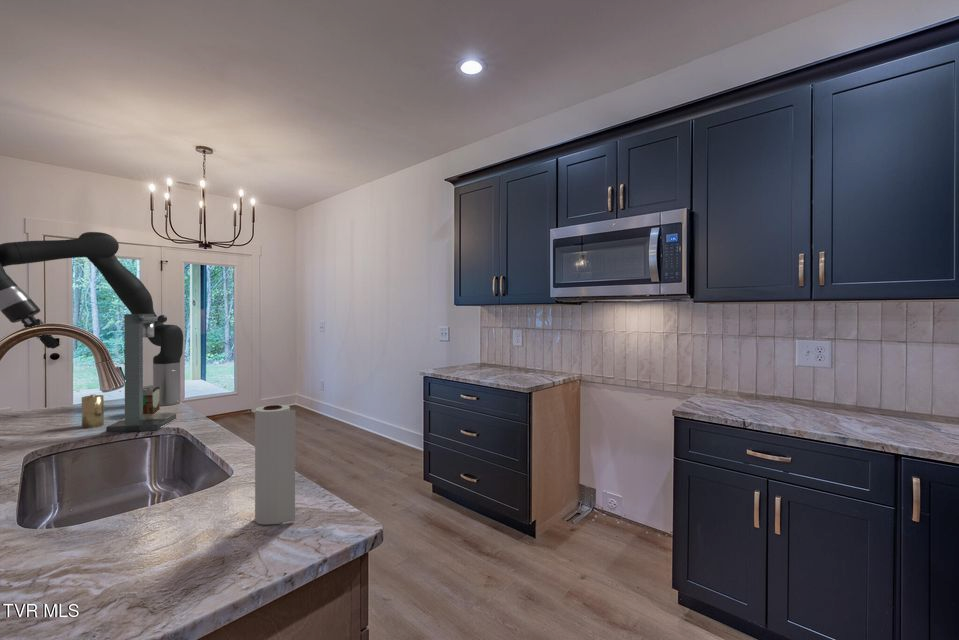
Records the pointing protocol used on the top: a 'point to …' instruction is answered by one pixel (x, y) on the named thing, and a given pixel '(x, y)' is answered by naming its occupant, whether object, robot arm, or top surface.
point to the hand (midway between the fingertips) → (54, 346)
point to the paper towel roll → (274, 464)
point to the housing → (92, 411)
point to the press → (137, 377)
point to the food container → (151, 399)
